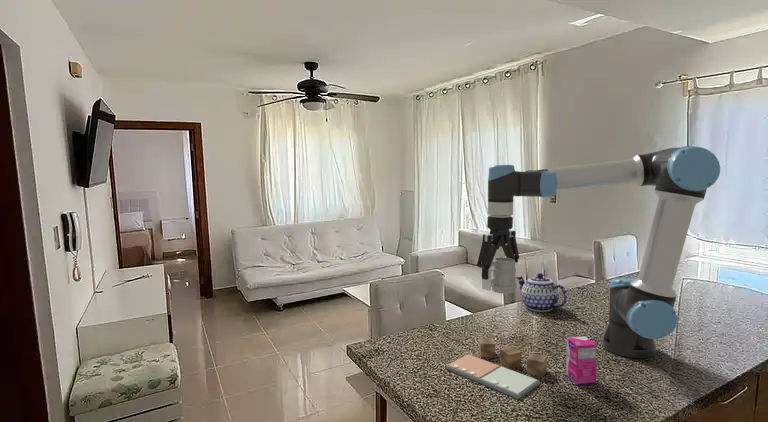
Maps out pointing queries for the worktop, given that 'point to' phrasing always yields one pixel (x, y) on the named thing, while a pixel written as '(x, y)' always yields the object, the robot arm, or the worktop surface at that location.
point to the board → (493, 376)
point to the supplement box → (581, 360)
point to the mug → (503, 275)
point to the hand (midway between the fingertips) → (498, 285)
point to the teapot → (540, 293)
